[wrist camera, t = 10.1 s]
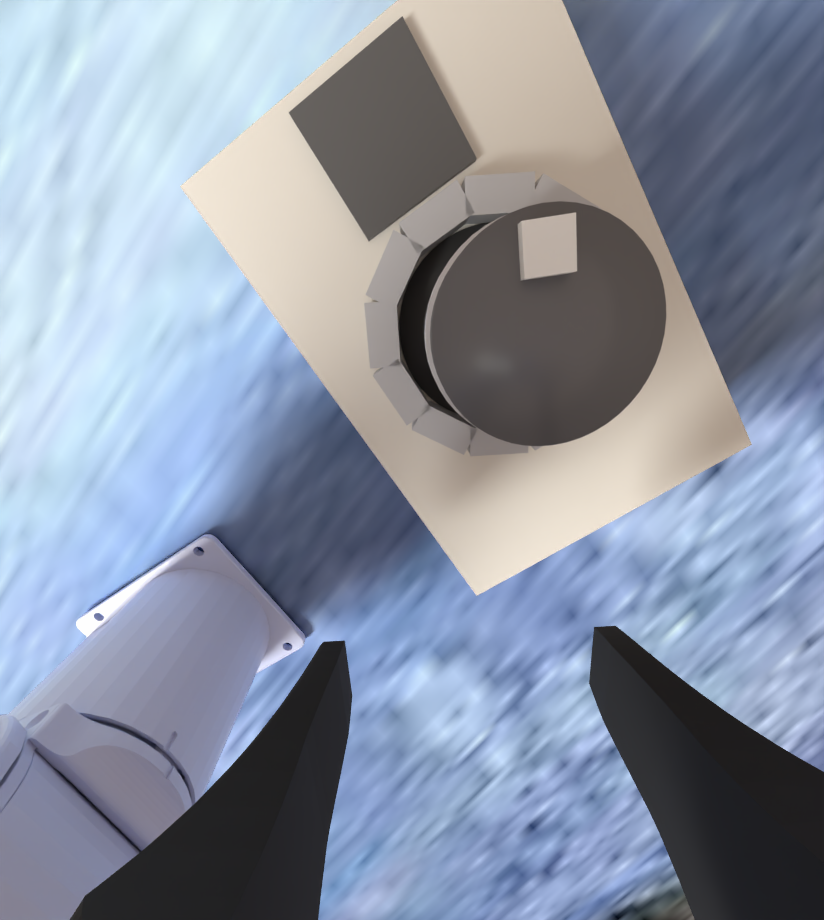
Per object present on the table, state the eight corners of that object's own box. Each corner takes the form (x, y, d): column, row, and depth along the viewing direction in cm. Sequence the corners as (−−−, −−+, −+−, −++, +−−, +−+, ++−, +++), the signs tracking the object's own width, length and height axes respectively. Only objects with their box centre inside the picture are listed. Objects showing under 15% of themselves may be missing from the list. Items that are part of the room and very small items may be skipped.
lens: (568, 391, 15) (673, 438, 9) (429, 411, 15) (442, 468, 9) (564, 237, 14) (688, 169, 8) (410, 261, 14) (410, 213, 8)
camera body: (464, 547, 22) (481, 614, 17) (231, 217, 17) (158, 173, 12) (685, 420, 20) (778, 453, 15) (490, 5, 15) (530, -153, 10)
